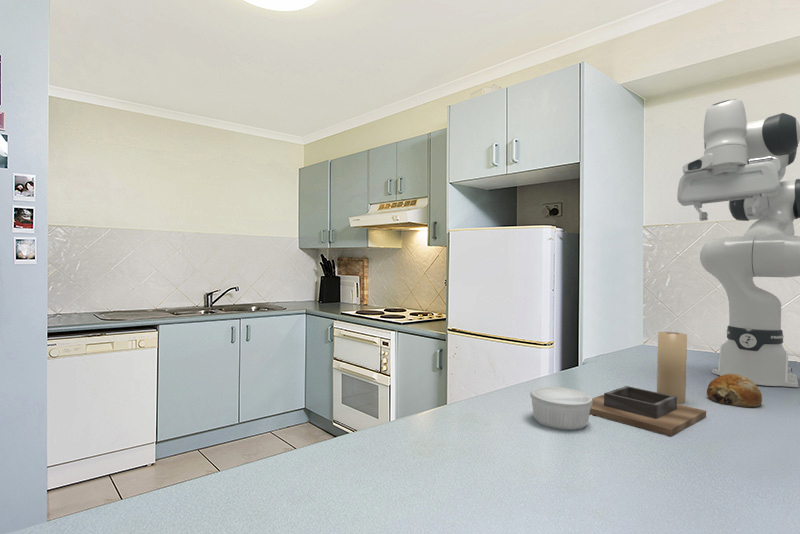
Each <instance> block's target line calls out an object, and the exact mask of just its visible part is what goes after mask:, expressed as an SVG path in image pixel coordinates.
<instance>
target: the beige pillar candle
mask: <svg viewBox="0 0 800 534" xmlns="http://www.w3.org/2000/svg"><path fill="white" fill-rule="evenodd" d="M657 336H658V337H657V362H656V363H657V369H656V392H657V393H662V394H666V395H671V396H676V397H677V404H679V405H684V404H685V403H686V396H687V394H686V392H687V391H686V390H687V355H688V354H687V353H688V334H687V333H683V332H677V331H658V332H657Z"/></svg>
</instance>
